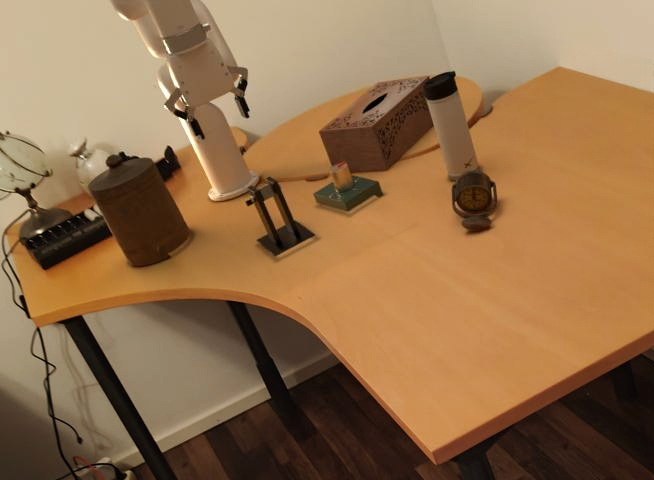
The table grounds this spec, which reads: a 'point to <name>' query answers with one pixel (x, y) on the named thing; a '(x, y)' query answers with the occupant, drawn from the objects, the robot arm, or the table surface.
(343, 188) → the knob
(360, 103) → the tissue box cover
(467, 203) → the vintage desk clock
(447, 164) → the travel mug
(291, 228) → the black lever stand
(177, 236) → the wooden container
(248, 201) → the press lever
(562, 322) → the table surface
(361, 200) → the dial panel
